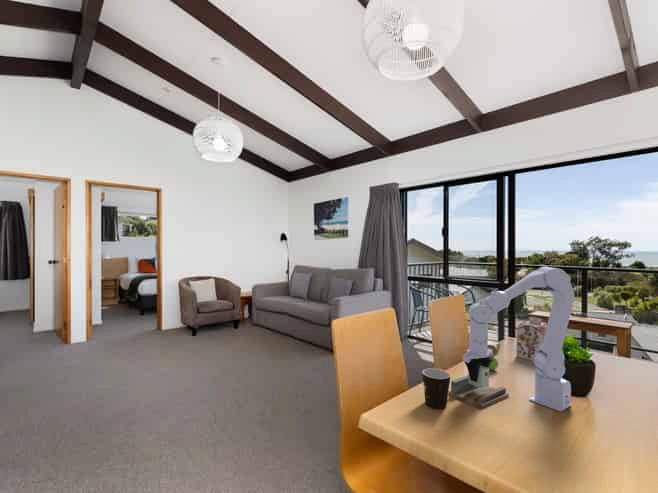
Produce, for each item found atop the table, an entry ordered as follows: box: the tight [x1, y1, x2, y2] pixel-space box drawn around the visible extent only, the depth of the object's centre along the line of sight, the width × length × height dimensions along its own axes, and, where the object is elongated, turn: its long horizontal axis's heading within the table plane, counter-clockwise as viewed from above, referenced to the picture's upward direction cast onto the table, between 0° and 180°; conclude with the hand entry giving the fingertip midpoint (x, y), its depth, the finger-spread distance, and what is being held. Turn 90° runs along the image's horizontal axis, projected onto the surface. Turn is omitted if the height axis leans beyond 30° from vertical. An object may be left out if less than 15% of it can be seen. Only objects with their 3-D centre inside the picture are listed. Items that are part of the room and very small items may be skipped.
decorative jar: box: [515, 317, 548, 362], centre depth 156 cm, size 12×12×18 cm
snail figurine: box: [488, 340, 502, 371], centre depth 140 cm, size 5×6×12 cm
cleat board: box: [448, 375, 510, 410], centre depth 116 cm, size 12×16×5 cm
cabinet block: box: [467, 366, 490, 389], centre depth 115 cm, size 6×4×6 cm
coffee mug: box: [421, 367, 452, 410], centre depth 107 cm, size 12×9×10 cm
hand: (477, 379), depth 116 cm, fingers closed on cabinet block, 4 cm apart
